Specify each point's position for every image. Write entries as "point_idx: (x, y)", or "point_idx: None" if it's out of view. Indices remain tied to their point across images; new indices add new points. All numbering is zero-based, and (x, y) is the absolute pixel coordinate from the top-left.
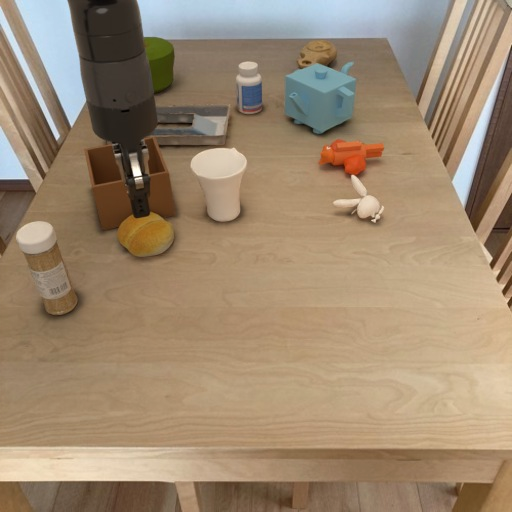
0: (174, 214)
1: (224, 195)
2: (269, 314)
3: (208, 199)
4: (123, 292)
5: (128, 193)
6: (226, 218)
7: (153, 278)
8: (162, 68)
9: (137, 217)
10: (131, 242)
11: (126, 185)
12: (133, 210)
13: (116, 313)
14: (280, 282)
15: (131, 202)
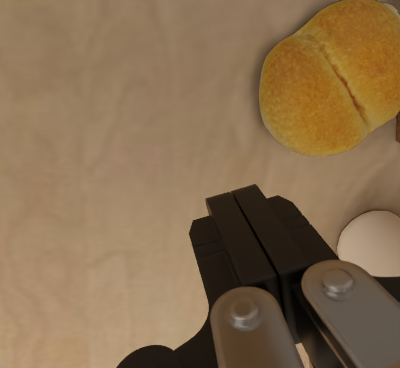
0: (397, 140)
1: None
2: (68, 323)
3: (387, 247)
4: (137, 30)
5: (230, 315)
6: (340, 250)
7: (183, 106)
8: None
9: (207, 208)
10: (299, 52)
11: (312, 308)
12: (215, 223)
13: (55, 16)
14: (150, 333)
15: (230, 252)
